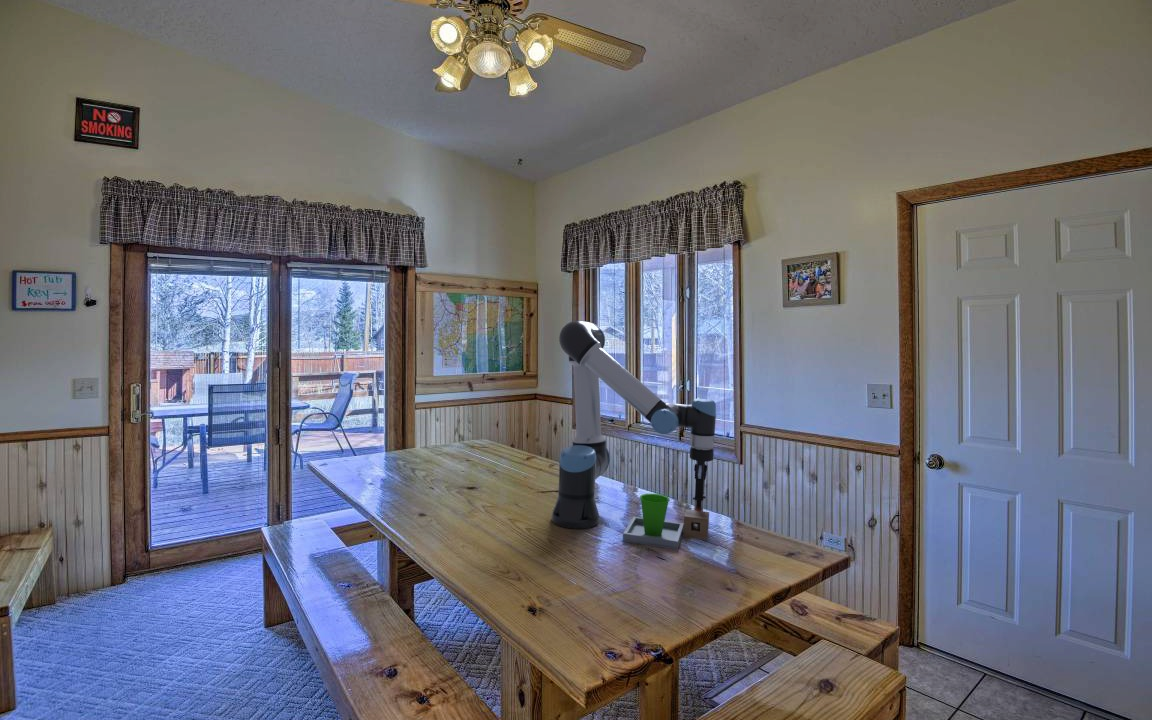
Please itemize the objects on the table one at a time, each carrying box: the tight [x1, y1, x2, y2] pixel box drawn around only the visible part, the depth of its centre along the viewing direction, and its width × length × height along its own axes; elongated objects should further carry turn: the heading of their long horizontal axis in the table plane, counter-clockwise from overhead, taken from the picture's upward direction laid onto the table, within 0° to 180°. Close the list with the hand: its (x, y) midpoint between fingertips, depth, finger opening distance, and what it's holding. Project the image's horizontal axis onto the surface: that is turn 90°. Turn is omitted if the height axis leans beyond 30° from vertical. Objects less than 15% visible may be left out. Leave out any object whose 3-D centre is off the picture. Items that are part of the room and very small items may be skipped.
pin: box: [692, 506, 702, 529], centre depth 169 cm, size 10×2×5 cm, turn 163°
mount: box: [682, 508, 710, 541], centre depth 167 cm, size 7×7×6 cm
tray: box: [622, 516, 684, 550], centre depth 165 cm, size 16×16×2 cm
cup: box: [639, 493, 671, 537], centre depth 165 cm, size 9×9×11 cm
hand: (698, 518), depth 176 cm, fingers closed
